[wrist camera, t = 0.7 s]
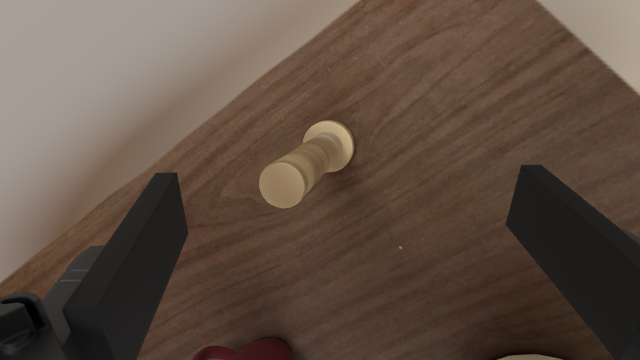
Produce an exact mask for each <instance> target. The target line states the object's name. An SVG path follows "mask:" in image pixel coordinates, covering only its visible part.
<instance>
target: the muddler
mask: <svg viewBox="0 0 640 360" xmlns="http://www.w3.org/2000/svg"><path fill="white" fill-rule="evenodd" d="M354 148H355V143H354V138H353V135H352V133H351V132H350V130H349V129H348V128H347V127H346V126H345V125H344V124H342V123H340V122H338V121H335V120H324V121H321V122H319V123H316V124H314V125H313V126H312V127H310V128H309V130H308V131H307V132H306V134H305V136H304V139H303V144H302V145H301V146H299V147H298V148H296V149H294V150H293V151H291V152H289V153H288V154H286V155H285V156H283V157H281V158H280V159H278V160H277V161H275V162H273V163H272V164H270V165H268V166H267V167H266V168H265V169H264V170H263V172H262V173H261V176H260V180H259V187H260V191H261V193H262V195H263V197H264V198H265V200H266V201H267V202H268V203H270V204H271V205H273V206H275V207H279V208H289V207H292V206H294V205H296V204H297V203H298V202H299V201H300V200H301V199H302V198H303V197H304V196H305V195H306V194H307V192H308V191H309V190H310V189H311V188H312V187H313V186H314V185H315V183H316V182H317V181H318V180H319V179H320V178H321V177H322V176H323V174H324V173H325V172H334V171H338V170H340V169H342V168H343V167H344V166H345V165H346V164H347V163H348V162H349V161H350V159H351V158H352V156H353V153H354Z"/></svg>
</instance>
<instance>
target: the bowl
mask: <svg viewBox="0 0 640 360" xmlns="http://www.w3.org/2000/svg"><path fill="white" fill-rule="evenodd" d="M498 360H563V359H559V358H554V357H549V356H544V355H539V354H529V355H512V356H507V357H504V358H501V359H498Z"/></svg>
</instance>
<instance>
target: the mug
mask: <svg viewBox="0 0 640 360" xmlns="http://www.w3.org/2000/svg"><path fill="white" fill-rule="evenodd" d="M212 358H218V359H223V360H293V357H292V354H291V351H290V349H289V347H288V346H287V345H286V344H285V343H284V342H283V341H281V340H279V339H277V338H271V337H269V338H263V339H260V340H257V341H255V342H252V343H250V344H248V345H246V346H245V347H243V348H242V349H240V350H239V351H238V352H235V351H232V350H230V349H228V348H225V347H221V346H209V347H206V348H204V349H202V350H200V351H199V352H198V353H197V354H196V355H195V357H194V358H193V360H208V359H212Z"/></svg>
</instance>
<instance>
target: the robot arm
mask: <svg viewBox="0 0 640 360" xmlns="http://www.w3.org/2000/svg"><path fill="white" fill-rule="evenodd" d="M506 225H507V227H508V228H509V229H510V230H511V232H512V233H513V234H514V235H515V236H516V238H517V239H518V240H519V241H520V243H521V244H522V245H523V246H524V248H525V249H526V250H527V251H528V253H529V254H530V255H531V256H532V257H533V259H534V260H535V261H536V262H537V264H538V265H539V266H540V267H541V269H542V270H543V271H544V272H545V273H546V275H547V276H548V277H549V278H550V280H551V281H552V282H553V283H554V285H555V286H556V287H557V288H558V289H559V291H560V292H561V293H562V294H563V296H564V297H565V298H566V299H567V301H568V302H569V303H570V304H571V305H572V307H573V308H574V309H575V310H576V312H577V313H578V314H579V315H580V317H581V318H582V319H583V320H584V322H585V323H586V324H587V325H588V326H589V328H590V329H591V330H592V331H593V333H594V334H595V335H596V336H597V338H598V339H599V340H600V341H601V342H602V344H603V345H604V346H605V347H606V349H607V350H608V351H609V352H610V354H611V355H612V356H613V357H614V358H615V360H640V238H639V237H637V236H635V235H633V234H632V233H630V232H628V231H626V230H621V229H620V228H618V227H617V226H616V225H615V224H613V223H612V222H611V221H610V220H609V219H607V218H606V217H605V216H604V215H602V214H601V213H600V212H599V211H597V210H596V209H595V208H594V207H592V206H591V205H590V204H589V203H588V202H586V201H585V200H584V199H583V198H581V197H580V196H579V195H578V194H576V193H575V192H574V191H573V190H571V189H570V188H569V187H568V186H566V185H565V184H564V183H563V182H562V181H560V180H559V179H558V178H557V177H555V176H554V175H553V174H552V173H550V172H549V171H548V170H547V169H545V168H544V167H543V166H542V165H521V169H520V173H519V176H518V180H517V184H516V187H515V191H514V195H513V199H512V202H511V206H510V210H509V213H508V217H507V221H506ZM187 235H188V229H187V224H186V219H185V213H184V208H183V203H182V198H181V192H180V187H179V182H178V177H177V173H155V175H154V176H153V178H152V179H151V181H150V182H149V183H148V185H147V186H146V188H145V189H144V191H143V192H142V194H141V195H140V196H139V198H138V199H137V201H136V202H135V204H134V205H133V207H132V208H131V209H130V211H129V212H128V214H127V215H126V217H125V218H124V220H123V221H122V222H121V224H120V225H119V227H118V228H117V230H116V231H115V233H114V234H113V235H112V237H111V238H110V240H109V241H108V243H107V244H106V246H91V247H89V248H88V249H86V250H85V251H84V252H82V253H81V254H80V255H78V256H77V257H75V259H74V260H73V261H72V263H71V264H70V265H69V267H68V268H67V269H66V272H64V273H63V274H62V276H61V277H60V278H59V280H58V283H56V284H55V285H54V286H53V287H52V289H51V290H50V291H49V293H48V294H47V295H46V297H45V298H44V299H43V300H42V302H41V299H40V298H39V297H38V296H37V295H36V294H33V293H28V292H21V293H13V294H10V295H7V296H3V297H0V360H136V359H137V356H138V354H139V352H140V349H141V347H142V344H143V342H144V339H145V337H146V335H147V332H148V330H149V327H150V325H151V322H152V320H153V318H154V315H155V313H156V310H157V308H158V306H159V303H160V301H161V298H162V296H163V293H164V291H165V289H166V286H167V284H168V281H169V279H170V276H171V274H172V272H173V269H174V267H175V264H176V262H177V259H178V257H179V255H180V252H181V250H182V247H183V245H184V242H185V240H186V238H187Z"/></svg>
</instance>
